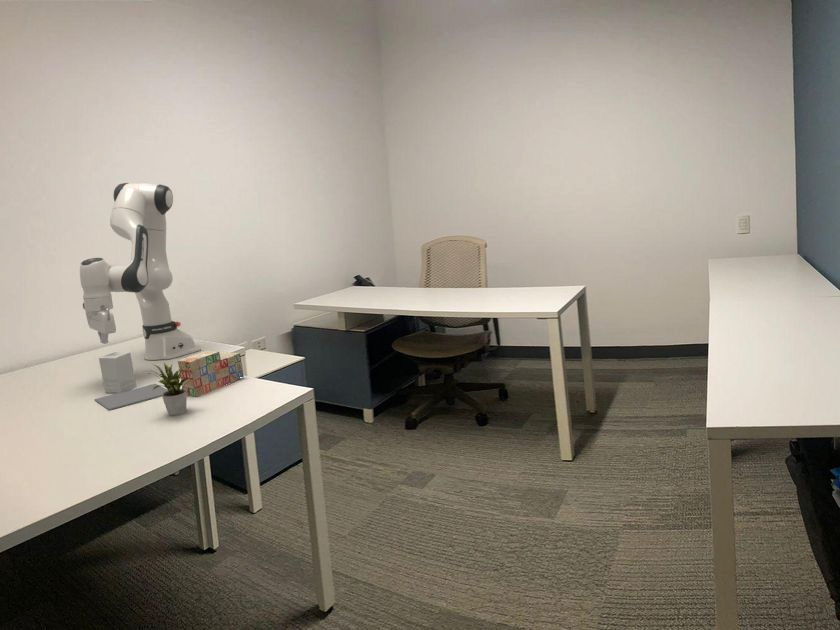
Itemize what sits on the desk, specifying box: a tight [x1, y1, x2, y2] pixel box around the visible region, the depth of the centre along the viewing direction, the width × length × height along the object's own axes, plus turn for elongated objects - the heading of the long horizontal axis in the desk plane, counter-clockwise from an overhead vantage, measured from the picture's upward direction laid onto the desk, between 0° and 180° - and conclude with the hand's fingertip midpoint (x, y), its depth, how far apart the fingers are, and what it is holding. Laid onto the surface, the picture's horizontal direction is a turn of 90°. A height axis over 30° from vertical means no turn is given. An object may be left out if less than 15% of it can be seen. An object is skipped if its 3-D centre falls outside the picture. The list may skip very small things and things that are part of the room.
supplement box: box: [98, 351, 137, 394], centre depth 214 cm, size 7×7×13 cm
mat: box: [94, 383, 168, 411], centre depth 206 cm, size 20×16×1 cm
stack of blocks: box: [177, 350, 244, 398], centre depth 210 cm, size 21×6×12 cm, turn 150°
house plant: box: [142, 360, 192, 416], centre depth 185 cm, size 14×14×16 cm
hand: (104, 343), depth 219 cm, fingers closed
